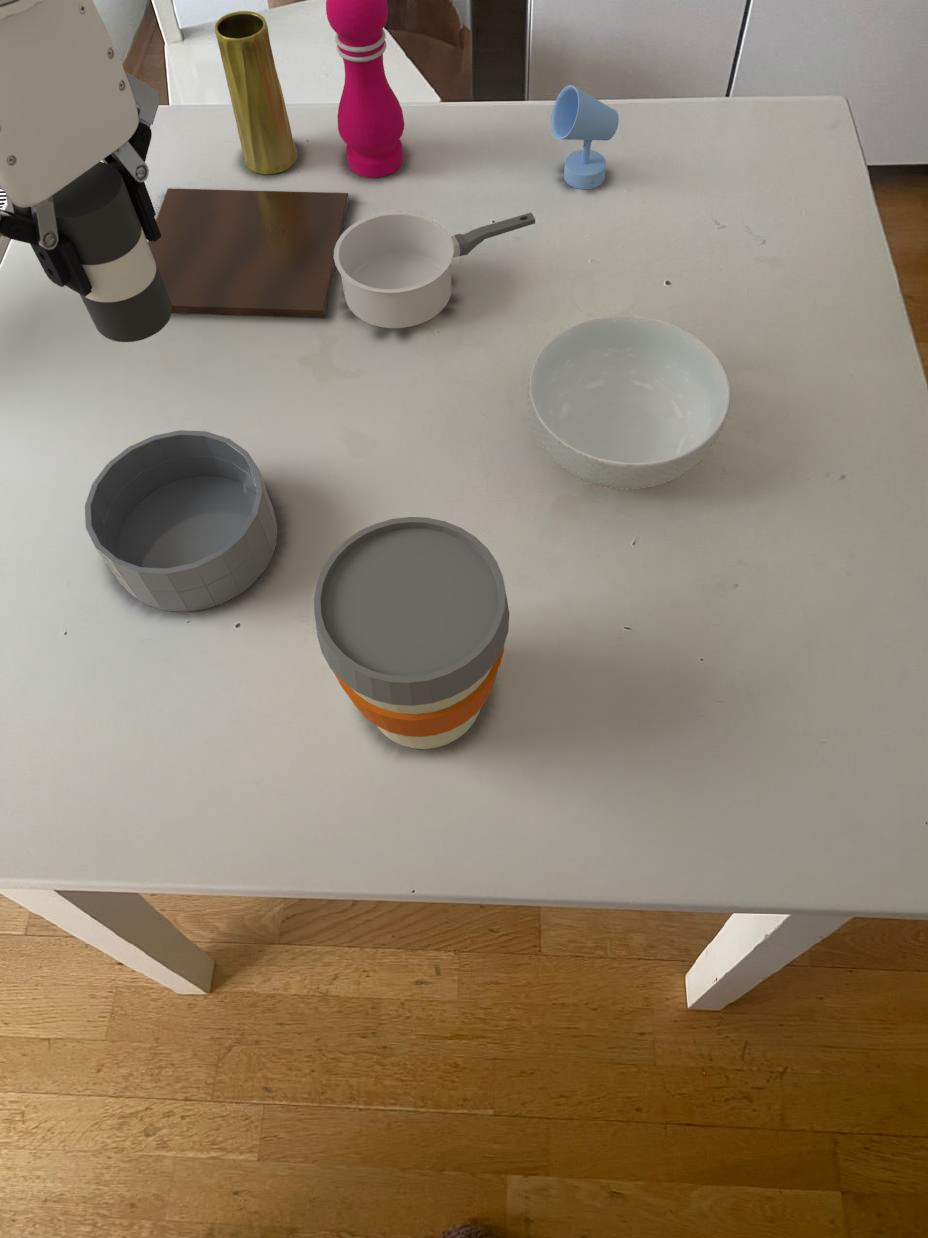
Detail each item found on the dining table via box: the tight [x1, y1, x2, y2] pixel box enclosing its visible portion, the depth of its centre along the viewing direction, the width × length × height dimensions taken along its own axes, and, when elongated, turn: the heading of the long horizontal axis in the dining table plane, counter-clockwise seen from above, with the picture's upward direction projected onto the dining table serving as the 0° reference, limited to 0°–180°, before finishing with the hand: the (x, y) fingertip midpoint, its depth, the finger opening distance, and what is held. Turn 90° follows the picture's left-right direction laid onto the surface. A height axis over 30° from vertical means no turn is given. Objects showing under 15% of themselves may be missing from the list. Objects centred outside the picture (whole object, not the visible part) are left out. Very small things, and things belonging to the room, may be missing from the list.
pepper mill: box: [325, 0, 405, 179], centre depth 92 cm, size 7×7×20 cm
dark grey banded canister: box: [53, 161, 173, 343], centre depth 59 cm, size 6×6×10 cm
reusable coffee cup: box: [313, 516, 510, 750], centre depth 62 cm, size 13×13×15 cm
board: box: [147, 187, 350, 319], centre depth 93 cm, size 20×18×1 cm
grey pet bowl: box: [84, 429, 278, 613], centre depth 74 cm, size 14×14×6 cm
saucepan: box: [334, 211, 536, 329], centre depth 88 cm, size 12×20×6 cm, turn 109°
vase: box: [214, 10, 298, 175], centre depth 95 cm, size 6×6×14 cm
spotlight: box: [550, 84, 620, 190], centre depth 94 cm, size 5×10×7 cm
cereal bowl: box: [527, 314, 731, 490], centre depth 77 cm, size 17×17×7 cm
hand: (108, 256), depth 60 cm, fingers closed on dark grey banded canister, 5 cm apart
